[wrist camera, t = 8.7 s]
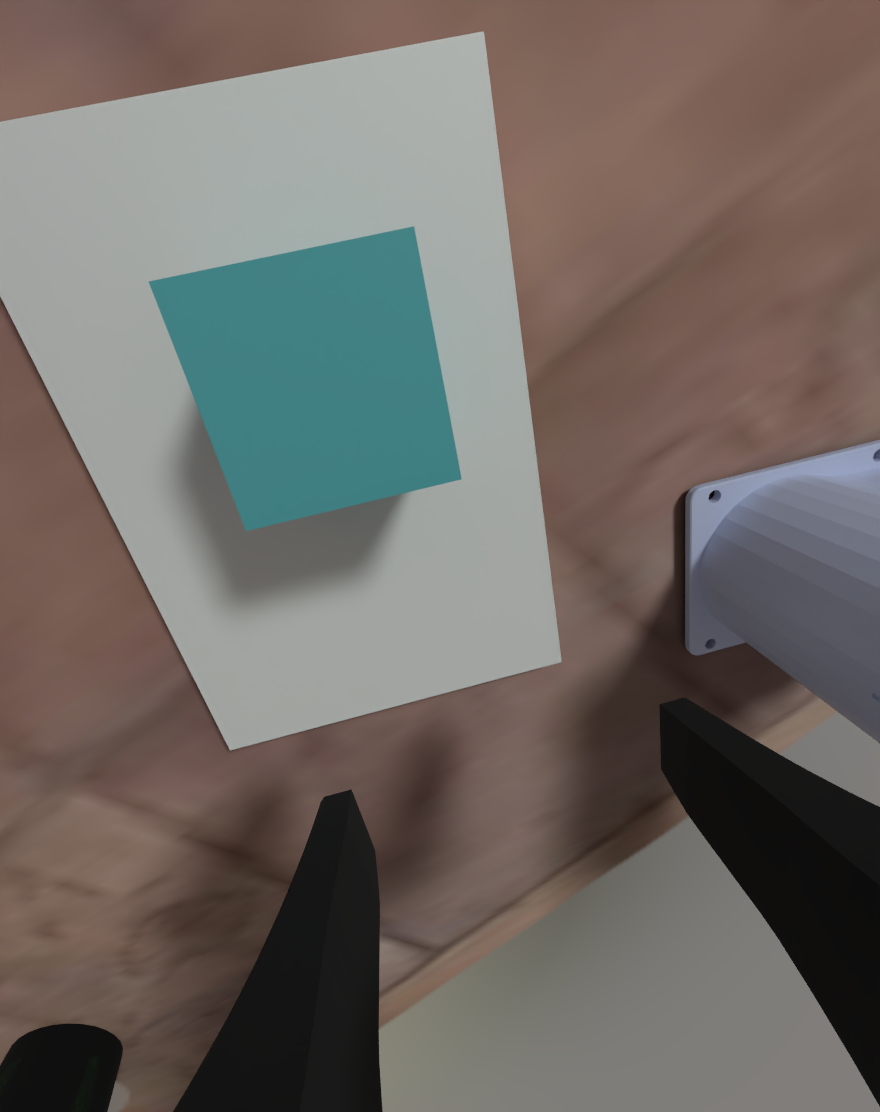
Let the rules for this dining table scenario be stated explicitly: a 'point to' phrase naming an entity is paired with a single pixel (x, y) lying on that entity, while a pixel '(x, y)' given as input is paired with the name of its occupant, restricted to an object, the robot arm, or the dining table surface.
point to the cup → (60, 1070)
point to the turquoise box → (315, 375)
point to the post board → (176, 424)
